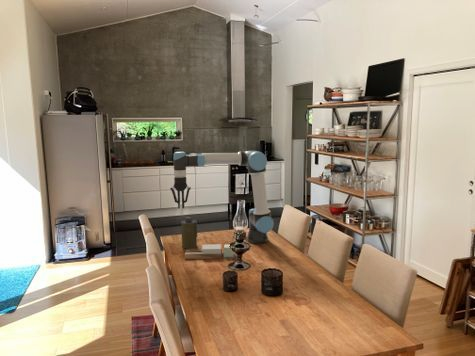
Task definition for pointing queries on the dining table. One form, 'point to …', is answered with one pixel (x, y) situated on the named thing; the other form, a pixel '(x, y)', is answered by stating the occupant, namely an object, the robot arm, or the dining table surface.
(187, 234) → the canister
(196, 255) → the runners
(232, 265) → the dining table surface
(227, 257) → the pad
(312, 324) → the dining table surface
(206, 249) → the slab
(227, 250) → the stop block
